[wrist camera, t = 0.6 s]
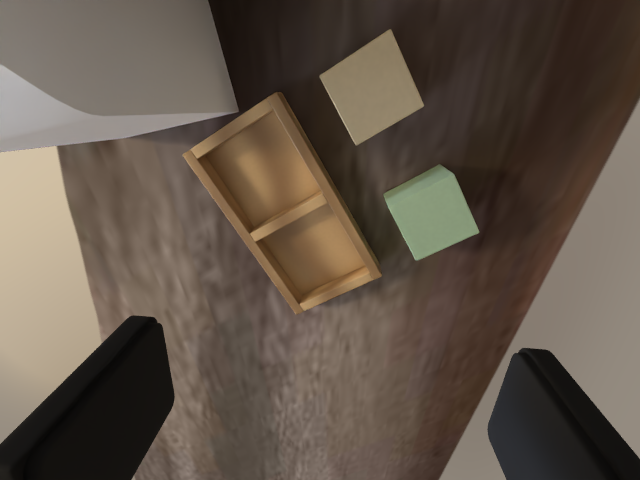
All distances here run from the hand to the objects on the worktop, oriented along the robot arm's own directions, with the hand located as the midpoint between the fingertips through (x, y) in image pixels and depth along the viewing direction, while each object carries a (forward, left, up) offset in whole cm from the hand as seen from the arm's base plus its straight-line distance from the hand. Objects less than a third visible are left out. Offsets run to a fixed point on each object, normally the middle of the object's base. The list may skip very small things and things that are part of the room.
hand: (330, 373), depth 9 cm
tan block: (-6, -5, -26) cm, 27 cm away
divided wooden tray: (+6, +1, -26) cm, 26 cm away
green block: (-6, +7, -26) cm, 27 cm away
